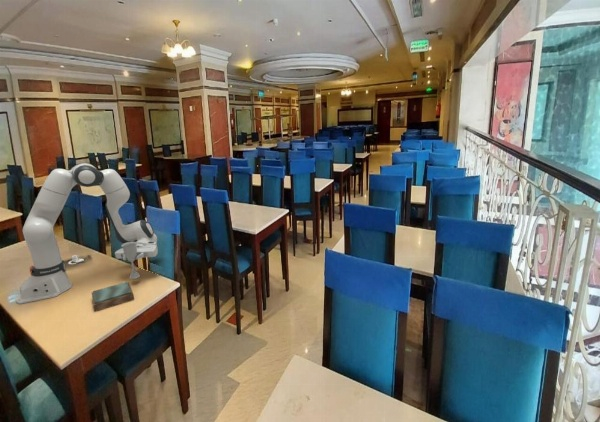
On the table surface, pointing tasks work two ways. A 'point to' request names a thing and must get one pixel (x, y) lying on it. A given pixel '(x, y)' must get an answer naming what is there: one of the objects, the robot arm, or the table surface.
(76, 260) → the teacup and saucer
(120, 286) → the plinth
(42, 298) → the robot arm
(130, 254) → the chalice
